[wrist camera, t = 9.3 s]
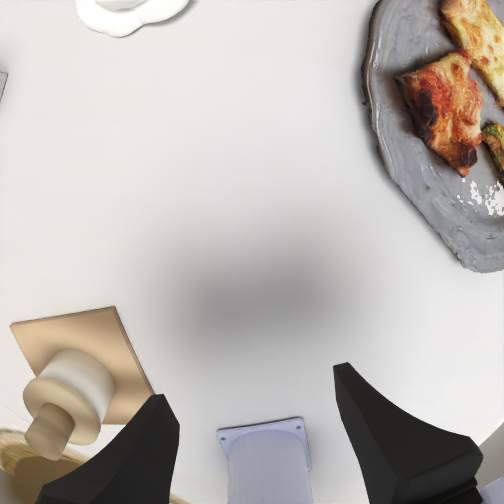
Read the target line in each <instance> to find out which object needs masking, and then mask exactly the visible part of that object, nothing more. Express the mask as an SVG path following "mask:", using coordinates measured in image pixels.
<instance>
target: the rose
mask: <svg viewBox="0 0 504 504" xmlns="http://www.w3.org/2000/svg"><path fill="white" fill-rule="evenodd" d="M188 2H189V0H75V9H76V14H77V16H78V18H79V20H80V21H81V23H82V24H83V25H85V26H86V27H87V28H89V29H91V30H94V31H97V32H101V33H105V34H108V35H110V36H113V37H123V36H126V35H128V34H130V33H132V32H133V31H134V30H136V29H137V28H139V27H140V26H142V25H144V24H147V23H154V22H160V21H164V20H166V19H168V18H170V17H172V16H174V15H176V14H177V13H179V12H180V11H181V10H182V9H184V8H185V6H186V5H187V3H188Z"/></svg>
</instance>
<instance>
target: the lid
mask: <svg viewBox="0 0 504 504" xmlns="http://www.w3.org/2000/svg"><path fill="white" fill-rule="evenodd" d="M23 400H24V403H25V406H26V408H27V410H28V411H29V413H30V415H31V416H32V417H33V418H34V420H33V422H32V424H31V425H30V427H29V428H28V430H27V432H26V433H25V440H26V442H27V443H28V444H29V446H30V447H31V448H32V449H33V450H35V451H36V452H37V453H39V454H40V455H42V456H44V457H46V458H48V459H51V460H59V459H60V457H61V455H62V453H63V451H64V448H65V446H66V444H67V442H68V443H71V444H75V445H89V444H92V443H93V442H95V440H96V439H97V437H98V434H99V432H100V429H101V423H100V419H99V417H98V415H97V413H96V412H95V410H94V409H93V407H92V406H91V405H90V404H89V403H88V402H87V401H86V400H85V399H84V398H83V397H82V396H81V395H80V394H79V393H77V392H76V391H75V390H73V389H72V388H70V387H68V386H67V385H65V384H63V383H61V382H59V381H56V380H54V379H51V378H46V377H37V378H34V379H32V380H31V381H30V382H29V383H28V385H27V386H26V387H25V389H24V391H23Z"/></svg>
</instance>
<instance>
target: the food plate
mask: <svg viewBox="0 0 504 504" xmlns="http://www.w3.org/2000/svg"><path fill="white" fill-rule="evenodd" d="M368 37H369V40H368V43H367V49H366V56H365V59H364V60H363V64H362V67H361V69H362V70H361V71H362V72H361V73H362V80H363V85H362V88H363V91H364V94H365V95H364V96H365V98H366V100H365V103H363V102H362V103H363V104H364V105H365V104H366V103H368V101H369V103H370V104H371V107H370V108H369V116H368V117H369V121H370V125H371V127H372V129H373V131H374V132H375V133H376V134H377V137H378V140H379V144H377V152H378V154H379V157H380V158H381V160H382V162H383V164H384V166H385V169H386V170H387V171H388V173H389V175H390V177H391V178H392V180H393V182H394V183H395V182H396V183H395V184H396V186H397V184H398V185H399V186H400V188H401V190H402V191H403V192H404V193H405V195H406V196H407V197H408V198H409V199H410V200H411V201H412V202H413V204H414V205H415V206H416V207H417V208H418V210H419V211H420V212H421V213H422V215H423V216H424V217H425V218H426V219H427V221H428V222H429V223H430V225H431V226H432V227H433V228H434V229H435V230H436V231H437V232H438V233H439V234H440V235H441V238H442V239H443V240H444V242H445V244H447V245H448V247H449V248H450V249H451V250H452V251H453V253H454V254H455V253H457V256H458V257H457V258H458V259H460V260H461V262H462V263H463V264H464V265H463V264H462V263H461V262H460V263H461V265H462V266H463V267H464V268H467V269H470V270H471V271H474V272H480V273H490V272H495V271H500V270H503V269H504V215H503V216H499V215H498V214H496V213H497V211H496V210H495V206H493V207H492V209H493V208H494V213H493V215H492V216H491V215H488V213H489V211H488V209H487V206H486V205H485V201H486V200H488V199H489V198H490V197H491V195H489V194H490V192H489V188H490V186H492V190H494V192H493V193H492V197H491V199H492V200H493V199H495V198H494V195H495V191H497V192H498V191H499V190H500V188H499V186H498V187H497V185H496V184H497V181H498V180H499V183H500V184H501V185H502V186H503V188H504V0H379V1H378V2H377V3H376V4H375V6H374V8H373V12H372V17H371V19H370V22H369V35H368ZM365 106H366V105H365ZM439 173H440V174H442V175H440V174H439ZM453 177H454V178H453ZM462 178H465V180H466V181H465V183H462ZM472 179H473V180H474V182H475V183H476V184H477V188H478V190H479V194H480V196H482V200H483V201H482V203H481V204H480V205H479V204H477V201H476V200H475V199H472V198H471V195H472V194H471V192H470V191H471V187H470V184H471V183H472ZM497 179H498V180H497ZM394 180H395V181H394ZM485 185H487V186H488V189H487V187H486V186H485ZM494 185H496V189H495V187H494ZM454 188H455V189H454ZM477 188H476V187H474V189H475V191H477ZM467 190H468V191H467ZM487 190H488V191H487ZM486 193H487V194H488V196H487V199H486V198H485V194H486ZM457 195H459V196H460V199H458V198H457ZM462 195H463V196H464V197H465V198H463V196H462ZM477 196H478V195H476V197H477ZM459 200H462V201H464V203H461V202H460V201H459ZM468 201H471V202H472V203H473V204H474V205H473V206H472V205H471V204H468V203H467V202H468ZM488 204H489V205H490V201H488ZM476 205H477V206H476ZM496 205H497V204H496ZM475 210H477V212H476V211H475ZM503 210H504V207H503V208H502V212H503ZM498 211H499V210H498ZM460 260H459V261H460Z"/></svg>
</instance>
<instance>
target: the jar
mask: <svg viewBox="0 0 504 504" xmlns="http://www.w3.org/2000/svg"><path fill="white" fill-rule="evenodd" d="M38 377H46V378H51V379H54V380H56V381H59V382H61V383H63V384H65V385H67V386H68V387H70V388H72V389H73V390H75V391H76V392H77V393H79V394H80V395H81V396H82V397H83V398H84V399H85V400H86V401H87V402H88V403H89V404H90V405H91V406H92V407H93V409H94V410H95V412H96V413H97V415H98V417H99V419H100V423H101V424H102V422H103V420H104V417H105V415H106V413H107V411H108V408H109V406H110V404H111V402H112V400H113V398H114V395H115V391H116V387H115V383H114V380H113V378H112V376H111V374H110V372H109V371H108V370H107V369H106V367H105V366H104V365H103V364H102V363H101V362H100V361H98V360H97V359H96V358H94V357H93V356H91V355H89V354H88V353H85V352H83V351H80V350H77V349H71V348H70V349H63V350H60V351H59V352H57V353H56V354H55V356H54V357H53V358H52V359H51V361H50V362H49V363H48V365H47V366H46V367H45V368H44V370H43V371H42V372H41V374H40V375H39V376H38Z"/></svg>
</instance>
